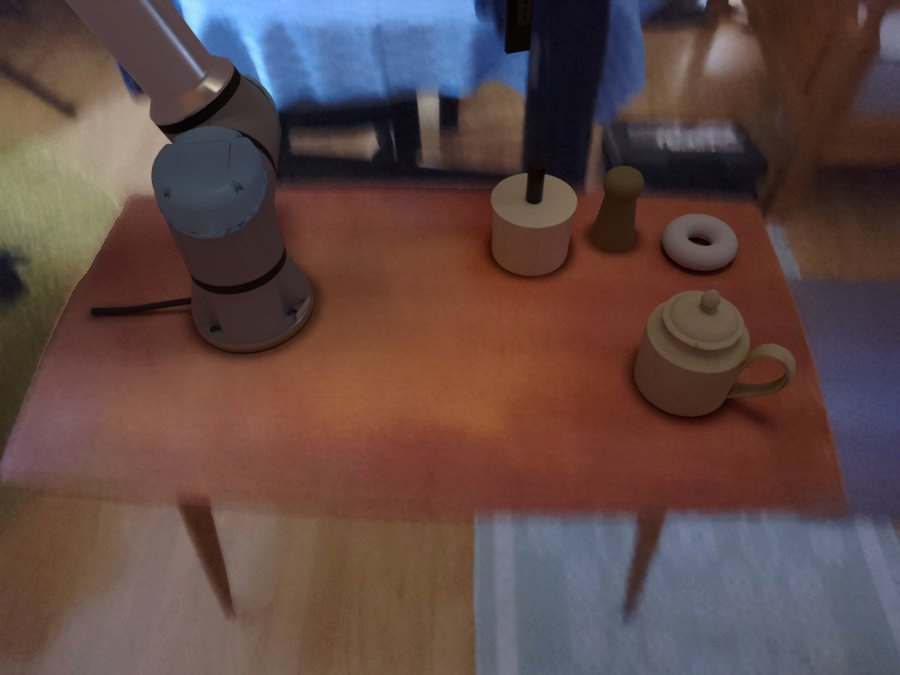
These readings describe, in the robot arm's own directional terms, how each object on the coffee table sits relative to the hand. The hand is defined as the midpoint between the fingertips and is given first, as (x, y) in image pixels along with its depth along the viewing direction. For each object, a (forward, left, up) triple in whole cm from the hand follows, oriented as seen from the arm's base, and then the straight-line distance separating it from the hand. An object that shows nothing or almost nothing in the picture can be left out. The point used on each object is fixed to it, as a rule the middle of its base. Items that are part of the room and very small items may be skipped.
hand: (497, 23), depth 78 cm
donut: (+25, -15, -29) cm, 41 cm away
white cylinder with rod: (+3, -8, -20) cm, 22 cm away
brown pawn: (+15, -9, -29) cm, 34 cm away
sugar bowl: (+14, -35, -29) cm, 47 cm away
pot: (+3, -8, -29) cm, 30 cm away
